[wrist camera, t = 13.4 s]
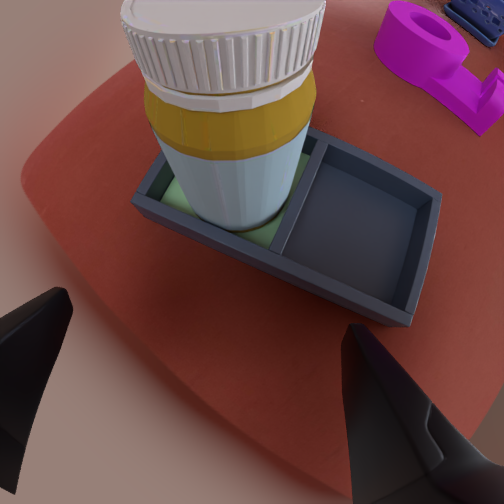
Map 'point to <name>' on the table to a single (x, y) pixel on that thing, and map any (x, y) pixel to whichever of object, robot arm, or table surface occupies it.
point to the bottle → (228, 98)
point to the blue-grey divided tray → (326, 228)
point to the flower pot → (479, 18)
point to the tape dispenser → (438, 64)
